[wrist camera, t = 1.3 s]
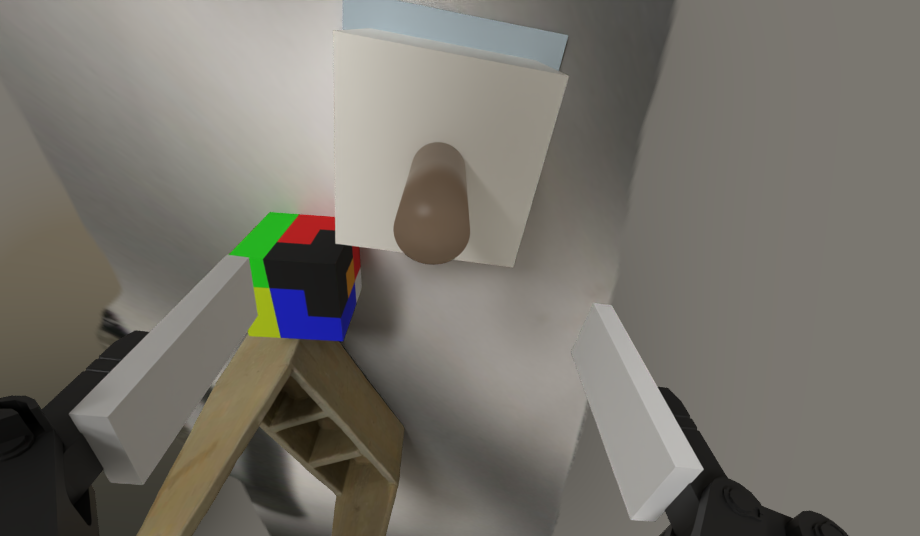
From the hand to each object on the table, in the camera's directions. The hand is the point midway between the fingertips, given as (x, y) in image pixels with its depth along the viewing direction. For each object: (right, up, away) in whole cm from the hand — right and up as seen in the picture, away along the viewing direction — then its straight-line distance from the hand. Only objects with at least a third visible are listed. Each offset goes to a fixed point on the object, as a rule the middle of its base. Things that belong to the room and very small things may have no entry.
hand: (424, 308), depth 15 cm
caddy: (-18, -16, +45) cm, 51 cm away
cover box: (0, +16, +24) cm, 28 cm away
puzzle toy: (-16, +4, +32) cm, 36 cm away
